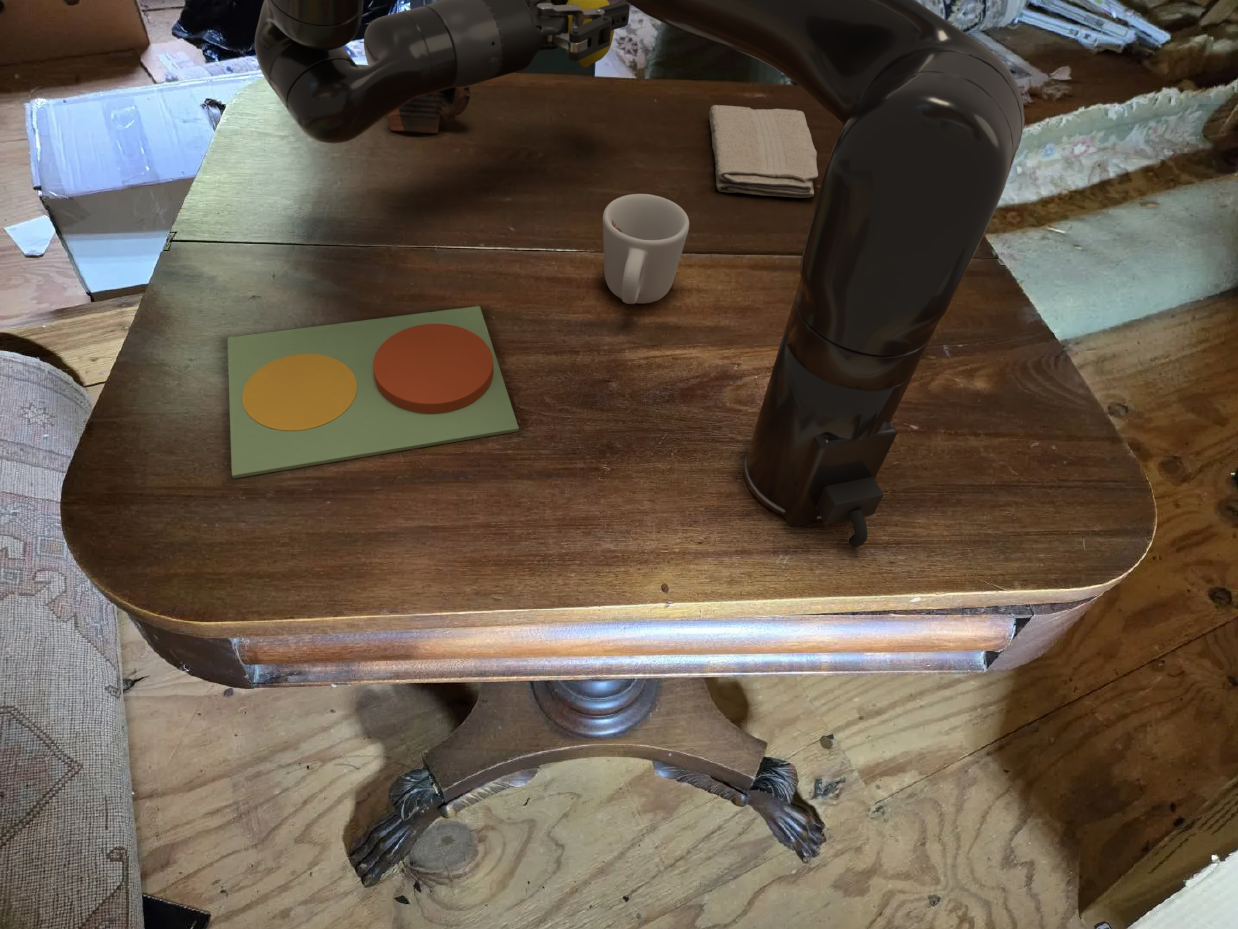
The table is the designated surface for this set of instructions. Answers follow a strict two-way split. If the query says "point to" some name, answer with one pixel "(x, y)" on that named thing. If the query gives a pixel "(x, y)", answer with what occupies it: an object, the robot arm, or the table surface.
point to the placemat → (363, 390)
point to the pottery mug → (430, 110)
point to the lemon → (587, 2)
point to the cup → (642, 246)
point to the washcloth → (763, 151)
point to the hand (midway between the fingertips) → (606, 2)
